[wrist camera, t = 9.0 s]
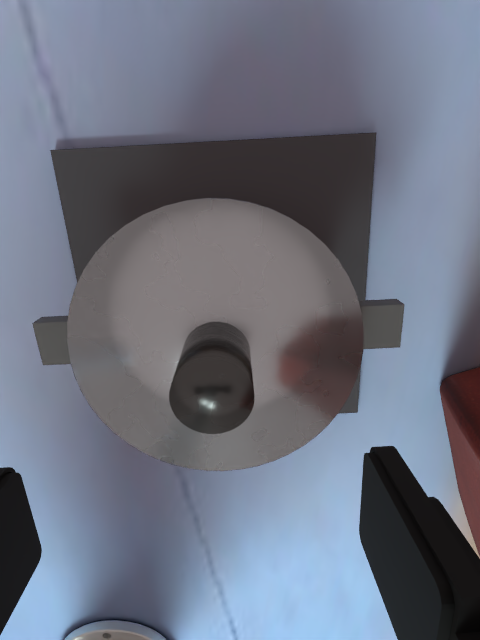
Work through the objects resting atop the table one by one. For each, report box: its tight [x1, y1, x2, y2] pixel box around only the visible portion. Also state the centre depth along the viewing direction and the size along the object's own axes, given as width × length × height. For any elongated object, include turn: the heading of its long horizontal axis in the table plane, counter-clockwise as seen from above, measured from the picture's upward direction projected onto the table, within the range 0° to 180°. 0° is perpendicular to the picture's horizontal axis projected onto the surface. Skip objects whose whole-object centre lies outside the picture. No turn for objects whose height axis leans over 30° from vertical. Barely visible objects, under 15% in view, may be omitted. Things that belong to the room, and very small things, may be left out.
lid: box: [67, 198, 364, 471], centre depth 16 cm, size 14×14×5 cm
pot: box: [32, 299, 404, 365], centre depth 22 cm, size 13×19×8 cm
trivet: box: [50, 133, 376, 413], centre depth 26 cm, size 20×20×1 cm
